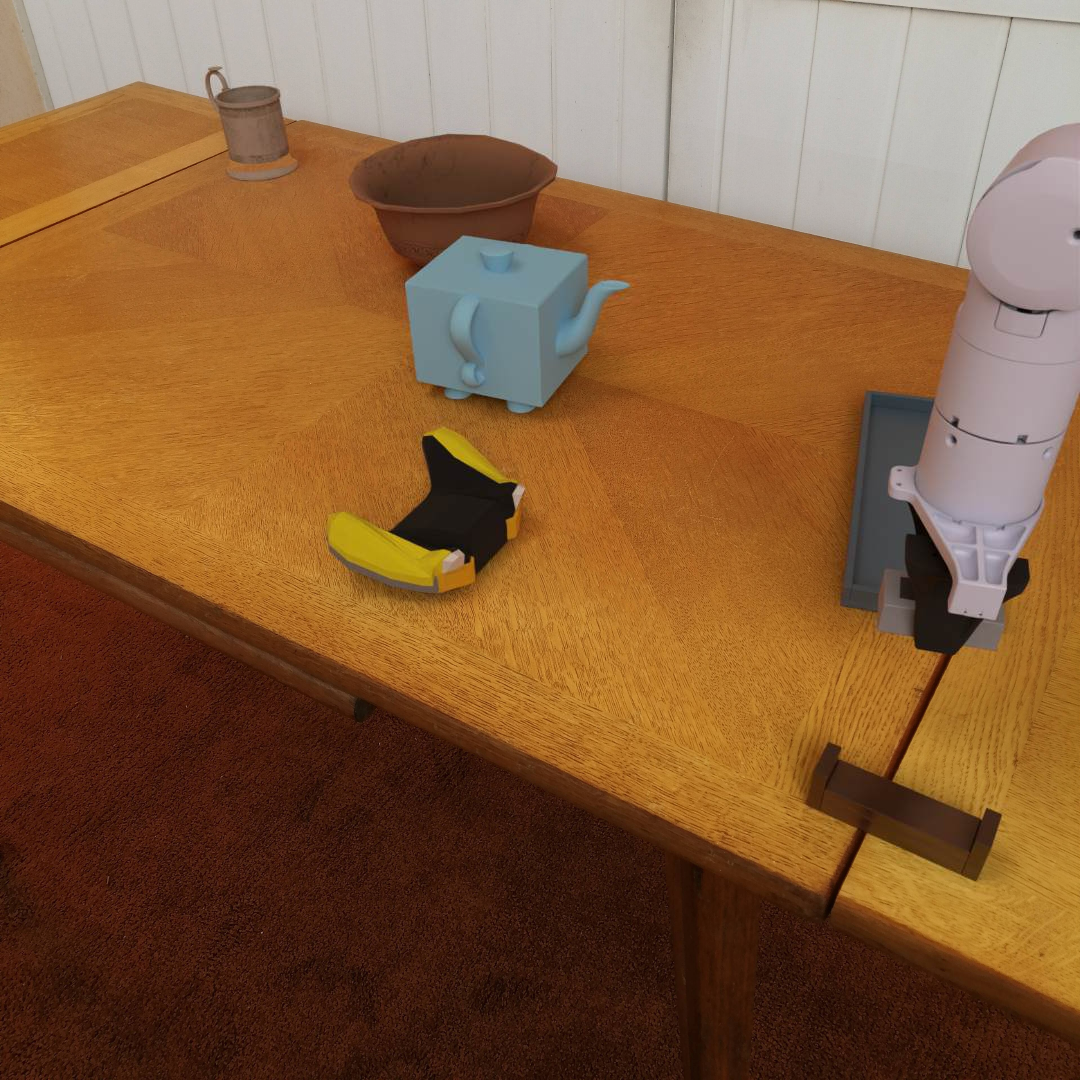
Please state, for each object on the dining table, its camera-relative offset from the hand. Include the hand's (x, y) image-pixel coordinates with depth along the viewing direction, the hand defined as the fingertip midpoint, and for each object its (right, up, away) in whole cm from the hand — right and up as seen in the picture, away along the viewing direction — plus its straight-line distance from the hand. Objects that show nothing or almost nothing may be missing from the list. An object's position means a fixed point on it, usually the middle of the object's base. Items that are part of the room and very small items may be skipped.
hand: (934, 624), depth 54 cm
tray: (+8, +7, +22) cm, 24 cm away
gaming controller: (-29, +4, +20) cm, 35 cm away
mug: (-62, +57, +86) cm, 120 cm away
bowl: (-30, +35, +57) cm, 74 cm away
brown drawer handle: (-2, -11, 0) cm, 11 cm away
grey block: (0, 0, 0) cm, 0 cm away
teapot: (-22, +18, +37) cm, 47 cm away
